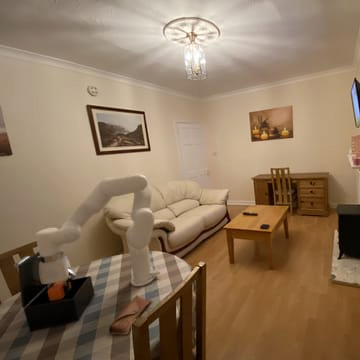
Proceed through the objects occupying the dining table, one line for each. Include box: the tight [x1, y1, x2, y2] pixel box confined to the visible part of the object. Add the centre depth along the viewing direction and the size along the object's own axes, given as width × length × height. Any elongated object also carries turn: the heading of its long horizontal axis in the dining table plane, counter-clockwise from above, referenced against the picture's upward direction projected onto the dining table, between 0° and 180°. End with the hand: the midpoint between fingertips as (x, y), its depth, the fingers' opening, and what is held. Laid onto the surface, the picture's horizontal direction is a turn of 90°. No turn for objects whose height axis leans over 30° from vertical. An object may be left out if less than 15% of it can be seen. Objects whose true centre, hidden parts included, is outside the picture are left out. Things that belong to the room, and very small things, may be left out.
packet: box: [48, 281, 71, 301], centre depth 94 cm, size 4×8×5 cm, turn 14°
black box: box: [23, 275, 96, 332], centre depth 95 cm, size 18×17×11 cm
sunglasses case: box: [108, 294, 152, 336], centre depth 91 cm, size 18×7×7 cm, turn 173°
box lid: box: [13, 251, 46, 309], centre depth 90 cm, size 18×17×6 cm
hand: (60, 292), depth 95 cm, fingers closed on packet, 4 cm apart
